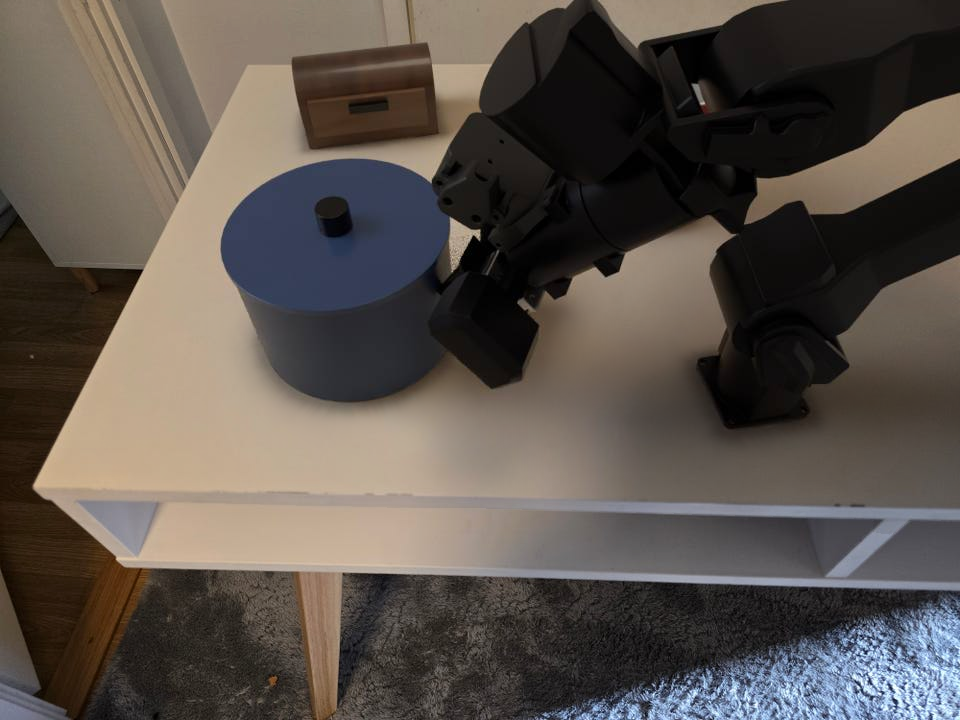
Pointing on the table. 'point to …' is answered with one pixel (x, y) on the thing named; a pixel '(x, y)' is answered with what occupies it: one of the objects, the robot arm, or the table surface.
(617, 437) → the table surface
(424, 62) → the bread bin
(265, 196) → the pot
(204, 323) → the table surface
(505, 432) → the table surface
